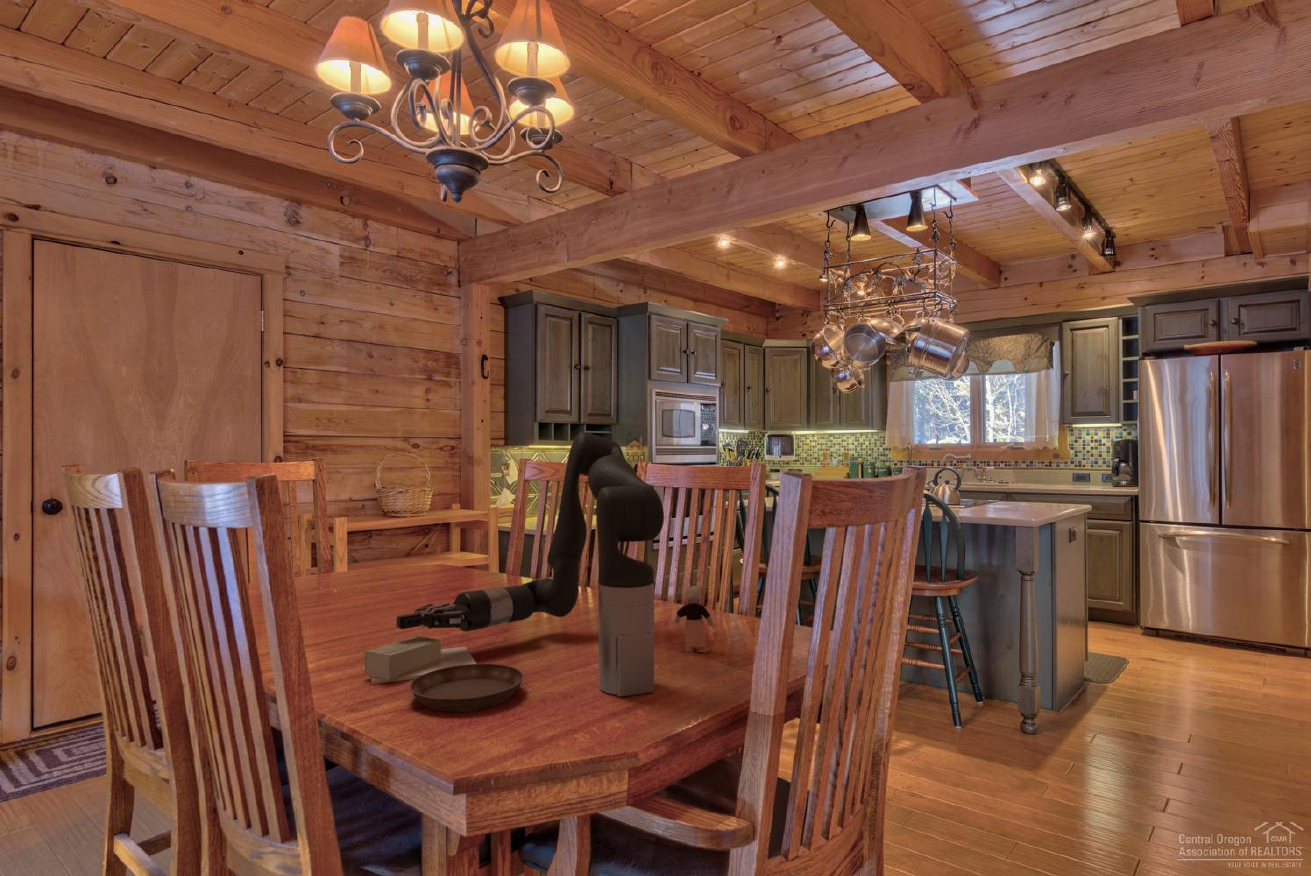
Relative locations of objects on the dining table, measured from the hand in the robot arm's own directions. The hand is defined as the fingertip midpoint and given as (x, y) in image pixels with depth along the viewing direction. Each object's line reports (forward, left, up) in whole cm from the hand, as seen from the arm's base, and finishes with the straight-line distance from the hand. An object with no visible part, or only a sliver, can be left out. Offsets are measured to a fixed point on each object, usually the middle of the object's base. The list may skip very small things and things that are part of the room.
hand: (398, 622), depth 136 cm
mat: (+1, -4, -8) cm, 9 cm away
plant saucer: (-20, -9, -9) cm, 24 cm away
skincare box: (+1, -6, -5) cm, 8 cm away
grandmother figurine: (-10, -54, -8) cm, 56 cm away
